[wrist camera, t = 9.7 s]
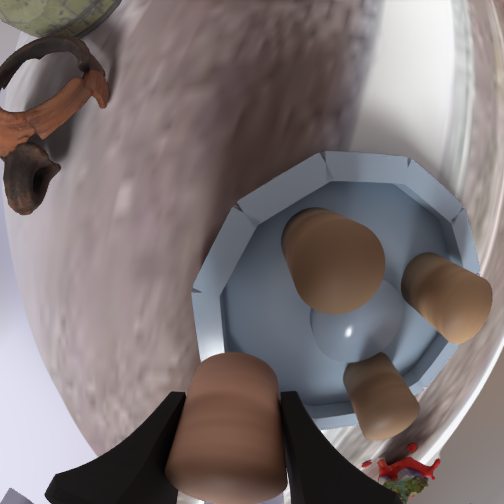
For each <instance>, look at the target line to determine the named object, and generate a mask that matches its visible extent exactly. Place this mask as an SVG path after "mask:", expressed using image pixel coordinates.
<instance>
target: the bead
mask: <svg viewBox="0 0 504 504" xmlns="http://www.w3.org/2000/svg"><path fill="white" fill-rule="evenodd" d="M401 293H402V296H403V298H404V300H405V301H406V302H407V303H408V304H409V305H410V306H411V307H413V308H414V309H415V310H416V311H417V312H418V313H419V314H420V315H421V316H422V317H423V318H425V319H426V320H427V321H428V322H429V323H430V324H431V325H432V326H433V327H434V328H435V329H436V330H437V331H438V332H439V333H441V334H442V335H443V336H444V337H445V338H446V339H447V340H448V341H449V342H450V343H452V344H461V343H464V342H466V341H468V340H469V339H471V338H472V337H473V336H474V335H475V334H476V333H477V332H478V331H479V330H480V329H481V327H482V326H483V324H484V323H485V321H486V319H487V317H488V315H489V312H490V309H491V305H492V288H491V286H490V284H489V282H488V281H487V280H486V279H484V278H482V277H480V276H478V275H476V274H474V273H473V272H471V271H469V270H467V269H465V268H463V267H461V266H459V265H457V264H455V263H453V262H451V261H449V260H447V259H445V258H443V257H441V256H439V255H437V254H435V253H432V252H425V253H421V254H419V255H417V256H416V257H415V258H413V259H412V260H411V261H410V263H409V264H408V265H407V267H406V269H405V270H404V273H403V275H402V279H401Z"/></svg>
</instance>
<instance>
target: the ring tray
mask: <svg viewBox="0 0 504 504" xmlns="http://www.w3.org/2000/svg"><path fill="white" fill-rule="evenodd" d="M237 203H238V204H239V206H240V207H238V206H236V205H235V204H234V205H233V207H232V208H231V210H230V212H229V214H228V216H227V218H226V220H225V222H224V224H223V226H222V228H221V230H220V232H219V234H218V236H217V238H216V239H215V241H214V243H213V245H212V247H211V249H210V251H209V253H208V255H207V258H206V260H205V262H204V264H203V266H202V268H201V270H200V272H199V274H198V276H197V278H196V280H195V282H194V284H193V286H192V287H193V290H192V292H191V296H192V304H193V312H194V319H195V326H196V333H197V340H198V347H199V353H200V359H201V362H202V361H204V360H205V359H207V358H209V357H211V356H213V355H216V354H220V353H226V352H239V353H245V354H249V355H252V356H255V357H257V358H259V359H261V360H263V361H264V362H266V363H267V364H268V365H269V366H270V367H271V368H272V369H273V371H274V372H275V374H276V376H277V379H278V385H279V395H280V404H281V392H285V391H296V392H298V395H299V397H300V399H301V401H302V403H303V405H304V407H305V409H306V410H307V412H308V414H309V415H310V417H311V418H312V420H313V421H314V423H315V424H316V426H317V427H318V429H319V430H326V429H333V428H340V427H346V426H352V425H358V424H359V422H358V420H357V417H356V414H355V412H354V409H353V406H352V404H351V401H350V399H349V396H348V393H347V391H346V388H345V386H344V383H343V374H344V371H345V369H346V368H347V366H348V365H349V364H350V363H351V362H359V361H362V360H366V359H368V358H370V357H372V356H374V355H376V354H377V353H379V352H382V353H385V354H386V355H387V356H388V357H389V359H390V360H391V362H392V363H393V365H394V366H395V368H396V369H397V371H398V372H399V374H400V375H401V377H402V378H403V380H404V381H405V383H406V384H407V386H408V387H409V389H410V390H411V392H412V394H413V395H414V396H415V395H417V394H418V393H420V392H421V391H423V390H424V389H423V386H425V387H427V386H428V385H429V384H430V383H431V382H432V380H433V379H434V378H435V377H436V376H437V374H438V373H439V372H440V371H441V369H442V368H443V367H444V365H445V364H446V363H447V361H448V360H449V359H450V357H451V356H452V355H453V353H454V352H455V350H456V349H457V348H458V346H459V345H460V344H452V343H450V342H449V341H448V340H447V339H446V338H445V337H444V336H443V335H442V334H441V333H439V332H438V331H437V330H436V329H435V328H434V327H433V326H432V325H431V324H430V323H429V322H428V321H427V320H426V319H425V318H423V317H422V316H421V315H420V314H419V313H418V312H417V311H416V310H415V309H414V308H413V307H411V306H410V305H409V304H408V303H407V302H406V301H405V300H404V298H403V296H402V293H401V279H402V275H403V273H404V270H405V269H406V267H407V265H408V264H409V263H410V261H411V260H412V259H413V258H415V257H416V256H417V255H419V254H421V253H425V252H432V253H435V254H437V255H439V256H441V257H443V258H445V259H447V260H449V261H451V262H453V263H455V264H457V265H459V266H461V267H463V268H465V269H467V270H469V271H471V272H473V273H474V274H476V275H478V276H480V274H479V273H478V272H479V271H480V266H479V261H478V256H477V252H476V247H475V243H474V239H473V235H472V231H471V227H470V224H469V220H468V217H467V213H466V210H465V209H464V208H462V205H463V204H462V203H461V202H460V201H459V200H458V199H457V198H455V197H454V196H453V195H452V194H451V193H450V192H449V191H448V190H447V189H446V188H445V187H444V186H443V185H442V184H441V183H440V182H438V181H437V180H436V179H435V178H434V177H433V176H432V175H431V174H429V173H428V172H427V171H426V170H425V169H424V168H422V167H421V166H420V165H419V164H418V163H416V162H415V161H414V160H413V159H407V157H405V156H396V155H386V154H374V153H360V152H342V151H324V152H321V153H317V154H314V155H312V156H311V157H309V158H307V159H305V160H304V161H302V162H300V163H299V164H297V165H295V166H293V167H292V168H290V169H288V170H287V171H285V172H283V173H282V174H280V175H278V176H276V177H274V178H273V179H271V180H270V181H268V182H267V183H265V184H263V185H262V186H260V187H259V188H257V189H255V190H254V191H252V192H250V193H249V194H247V195H246V196H244V197H242V198H241V199H239V200H238V201H237ZM311 207H319V208H324V209H327V210H330V211H332V212H334V213H337V214H339V215H341V216H344V217H346V218H348V219H351V220H353V221H355V222H358V223H360V224H362V225H364V226H366V227H367V228H369V229H370V230H371V231H372V232H373V233H374V234H375V235H376V236H377V237H378V239H379V241H380V242H381V245H382V247H383V250H384V254H385V272H384V276H383V279H382V282H381V284H380V286H379V288H378V290H377V291H376V293H375V294H374V295H373V297H372V298H371V299H370V300H369V301H368V302H366V303H365V304H364V305H363V306H361V307H359V308H358V309H356V310H353V311H351V312H348V313H344V314H336V315H335V314H325V313H322V312H319V311H316V310H314V309H313V308H311V307H310V306H308V305H307V304H306V303H305V302H304V301H303V300H302V299H301V297H300V296H299V294H298V292H297V290H296V288H295V285H294V282H293V279H292V276H291V274H290V271H289V268H288V265H287V262H286V260H285V257H284V254H283V251H282V246H281V237H282V232H283V229H284V227H285V225H286V223H287V222H288V221H289V219H290V218H291V217H292V216H293V215H295V214H296V213H297V212H299V211H301V210H303V209H306V208H311Z"/></svg>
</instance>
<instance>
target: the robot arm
mask: <svg viewBox="0 0 504 504" xmlns="http://www.w3.org/2000/svg"><path fill="white" fill-rule="evenodd" d="M185 400H186V395H185V392H173V391H172V392H170V393H169V395H168V396H167V397H166V398H165V399H164V400H163V402H162V403H161V404H160V405H159V406H158V407H157V408H156V410H155V411H154V412H153V413H152V414H151V415H150V416H149V417H148V418H147V419H146V420H145V421H144V422H143V423H142V424H141V425H140V426H139V427H138V428H137V429H136V430H135V431H134V432H133V433H132V434H131V435H129V436H128V437H127V438H126V439H125V440H123V441H122V442H121V443H120V444H118V445H117V446H116V447H114V448H113V449H111V450H110V451H108V452H106V453H105V454H103V455H101V456H100V457H98V458H96V459H94V460H93V461H91V462H89V463H86V464H84V465H82V466H79V467H77V468H74V469H71V470H69V471H65V472H62V473H59V474H56V475H55V476H54V478H53V480H52V481H51V483H50V485H49V487H48V488H47V490H46V492H45V497H46V499H47V500H48V501H49V502H50V503H51V504H176V503H177V496H178V489H176V488H175V487H174V486H173V485H172V484H171V483H170V482H169V481H168V480H167V478H166V476H165V468H166V464H167V461H168V457H169V454H170V450H171V447H172V444H173V440H174V437H175V433H176V430H177V427H178V423H179V420H180V417H181V413H182V410H183V407H184V403H185ZM280 405H281V415H282V426H283V436H284V447H285V458H286V468H287V473H288V478H289V484H290V493H291V504H403V502H402V500H401V499H400V497H399V496H398V494H397V493H396V492H394V491H392V490H390V489H388V488H386V487H385V486H383V485H381V484H379V483H378V482H376V481H374V480H373V479H371V478H370V477H368V476H367V475H365V474H364V473H363V472H361V471H360V470H359V469H358V468H356V467H355V466H354V465H352V464H351V463H350V462H349V461H348V460H347V459H345V458H344V457H343V456H342V455H341V454H340V453H339V452H338V451H337V450H336V449H335V448H334V447H333V446H332V445H331V443H330V442H329V441H328V440H327V439H326V437H325V436H324V435H323V434H322V433H321V431H320V430H319V429H318V427H317V426H316V424H315V423H314V421H313V420H312V418H311V417H310V415H309V414H308V412H307V410H306V409H305V407H304V405H303V403H302V401H301V399H300V397H299V395H298V392H296V391H285V392H281V404H280ZM0 504H33V503H32V502H31V501H30V500H28V499H27V498H26V497H24V496H23V495H21V494H19V493H18V492H17V491H15V490H13V489H12V488H9V490H8V491H7V493H6V495H5V496H4V498H3V500H2V502H1V503H0ZM204 504H215V503H210V502H206V501H205V502H204ZM256 504H284V496H283V492H282V493H281V494H280V495H278V496H277V497H275V498H273V499H270V500H268V501H265V502H261V503H256ZM471 504H473V503H471Z"/></svg>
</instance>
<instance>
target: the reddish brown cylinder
mask: <svg viewBox="0 0 504 504" xmlns="http://www.w3.org/2000/svg"><path fill="white" fill-rule="evenodd" d="M165 476H166V478H167V480H168V481H169V482H170V483H171V484H172V485H173V486H174V487H175V488H176V489H178V490H179V491H181V492H183V493H184V494H186V495H189V496H191V497H193V498H196V499H199V500H202V501H206V502H210V503H215V504H256V503H261V502H265V501H268V500H270V499H273V498H275V497H277V496H278V495H280V494H281V493H282V492H283V491H284V490H285V489H286V487H287V484H288V480H287V469H286V458H285V447H284V436H283V426H282V415H281V405H280V395H279V385H278V379H277V376H276V374H275V372H274V371H273V369H272V368H271V367H270V366H269V365H268V364H267V363H266V362H264V361H263V360H261V359H259V358H257V357H255V356H252V355H249V354H245V353H239V352H226V353H220V354H216V355H213V356H211V357H209V358H207V359H205V360H204V361H202V362H201V363H200V364H199V365H198V366H197V368H196V370H195V372H194V374H193V377H192V381H191V384H190V387H189V390H188V394H187V397H186V400H185V403H184V407H183V410H182V413H181V417H180V420H179V423H178V427H177V430H176V433H175V437H174V440H173V444H172V447H171V450H170V454H169V457H168V461H167V464H166V468H165Z"/></svg>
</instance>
